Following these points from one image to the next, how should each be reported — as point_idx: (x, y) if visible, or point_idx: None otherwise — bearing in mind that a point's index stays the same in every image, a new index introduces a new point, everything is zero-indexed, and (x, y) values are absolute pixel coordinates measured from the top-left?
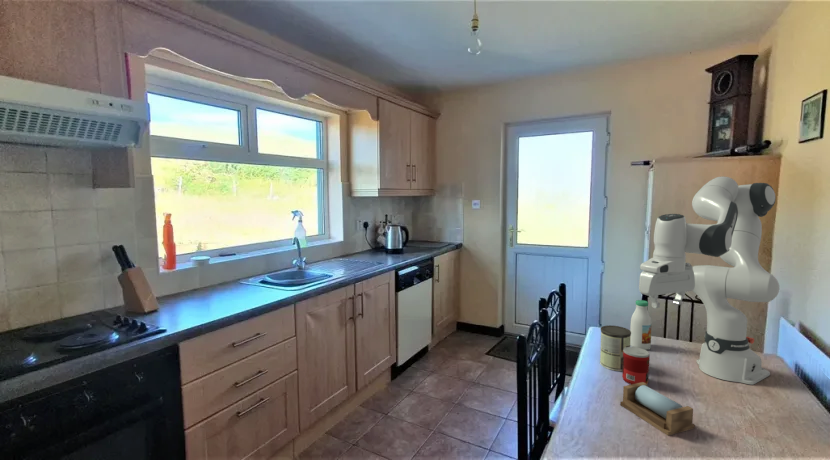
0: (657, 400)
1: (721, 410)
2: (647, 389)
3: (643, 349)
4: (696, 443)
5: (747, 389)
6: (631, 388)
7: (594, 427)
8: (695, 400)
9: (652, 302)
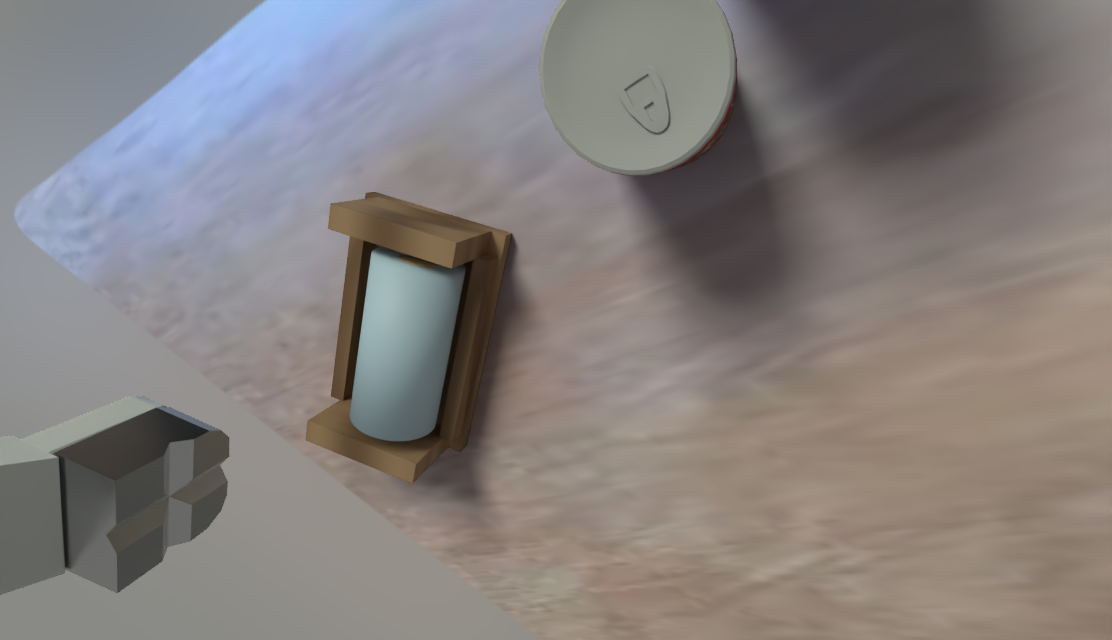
0: (357, 363)
1: (700, 484)
2: (382, 303)
3: (726, 85)
4: None
5: (1103, 536)
6: (354, 236)
7: (179, 220)
8: (705, 387)
9: (34, 453)
